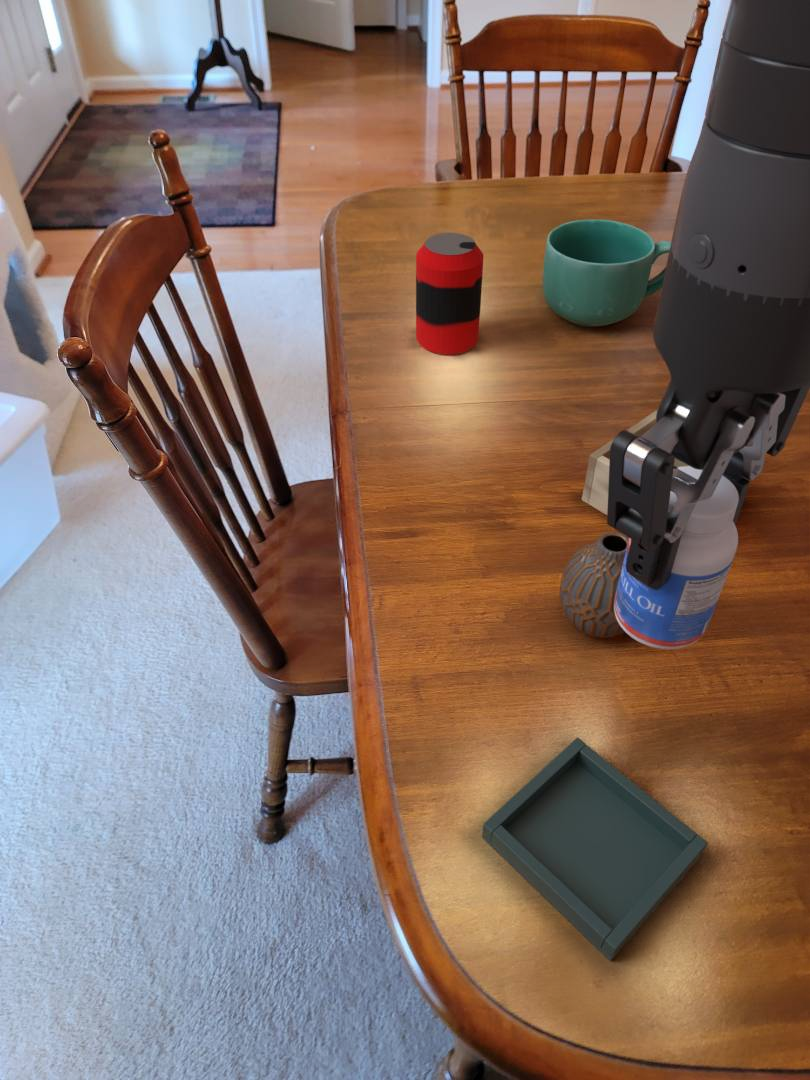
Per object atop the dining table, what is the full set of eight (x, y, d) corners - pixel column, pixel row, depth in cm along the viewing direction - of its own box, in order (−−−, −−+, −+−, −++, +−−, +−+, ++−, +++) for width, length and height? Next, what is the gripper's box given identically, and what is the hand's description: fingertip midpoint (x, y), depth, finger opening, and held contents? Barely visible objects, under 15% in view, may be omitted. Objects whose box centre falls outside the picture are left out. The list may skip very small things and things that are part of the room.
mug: (544, 338, 101) (553, 264, 94) (533, 289, 110) (541, 218, 103) (681, 339, 101) (700, 264, 94) (660, 289, 110) (675, 218, 103)
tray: (701, 856, 54) (708, 842, 53) (610, 962, 50) (615, 949, 48) (574, 751, 60) (577, 736, 59) (481, 837, 55) (483, 823, 54)
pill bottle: (594, 598, 50) (620, 470, 43) (670, 573, 51) (706, 445, 44) (647, 665, 46) (685, 536, 39) (727, 636, 47) (777, 506, 41)
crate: (740, 503, 79) (757, 458, 75) (675, 557, 74) (689, 511, 70) (647, 453, 85) (658, 408, 81) (581, 500, 80) (589, 454, 76)
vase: (620, 664, 65) (641, 588, 59) (540, 628, 68) (553, 552, 62) (652, 609, 70) (675, 532, 63) (576, 576, 72) (591, 500, 66)
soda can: (473, 359, 98) (479, 261, 89) (410, 352, 99) (410, 255, 90) (482, 326, 103) (488, 232, 95) (422, 321, 104) (423, 226, 96)
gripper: (754, 345, 28) (657, 663, 39) (943, 224, 35) (813, 525, 46) (579, 272, 32) (537, 579, 44) (779, 176, 39) (697, 464, 50)
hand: (680, 550), depth 45 cm, fingers closed on pill bottle, 5 cm apart
